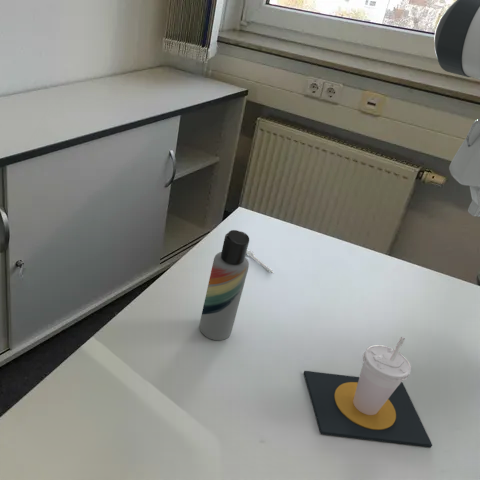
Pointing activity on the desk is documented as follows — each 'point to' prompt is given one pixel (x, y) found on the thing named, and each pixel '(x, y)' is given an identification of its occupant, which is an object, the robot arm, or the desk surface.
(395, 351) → the smoothie
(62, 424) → the desk surface
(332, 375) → the mat
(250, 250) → the white spoon
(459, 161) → the robot arm
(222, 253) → the lotion bottle
